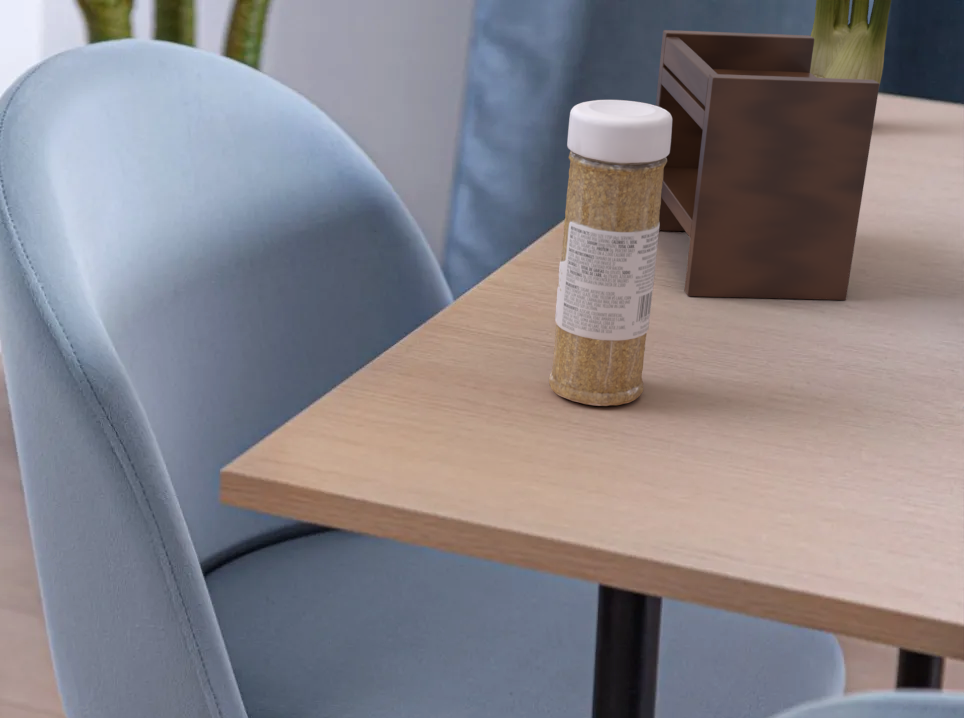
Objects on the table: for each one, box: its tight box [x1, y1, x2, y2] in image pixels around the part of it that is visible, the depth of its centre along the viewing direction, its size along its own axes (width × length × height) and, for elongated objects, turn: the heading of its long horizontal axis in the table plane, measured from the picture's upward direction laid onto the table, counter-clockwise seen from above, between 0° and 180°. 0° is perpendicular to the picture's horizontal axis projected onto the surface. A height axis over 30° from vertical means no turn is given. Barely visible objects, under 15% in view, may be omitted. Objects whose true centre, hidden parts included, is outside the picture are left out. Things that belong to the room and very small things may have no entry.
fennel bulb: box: [810, 0, 892, 86], centre depth 136 cm, size 6×5×12 cm
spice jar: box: [548, 99, 672, 407], centre depth 81 cm, size 5×5×14 cm
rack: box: [655, 29, 880, 301], centre depth 102 cm, size 9×14×12 cm, turn 4°
